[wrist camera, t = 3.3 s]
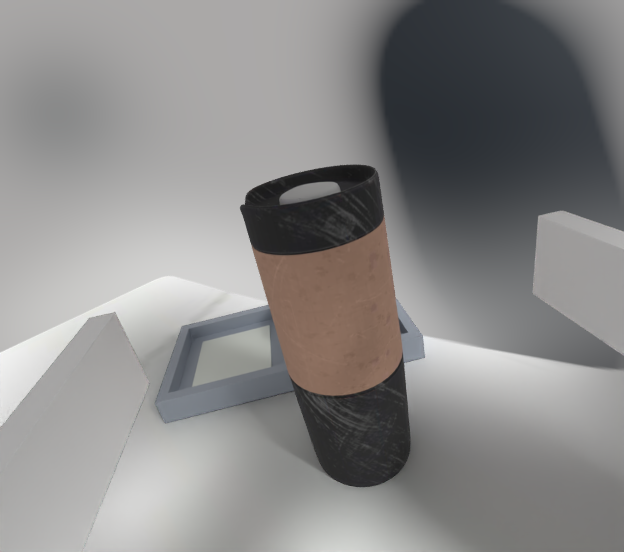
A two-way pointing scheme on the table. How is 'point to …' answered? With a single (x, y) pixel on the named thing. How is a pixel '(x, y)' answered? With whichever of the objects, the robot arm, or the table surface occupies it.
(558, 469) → the table surface
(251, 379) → the dock
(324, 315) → the travel mug
